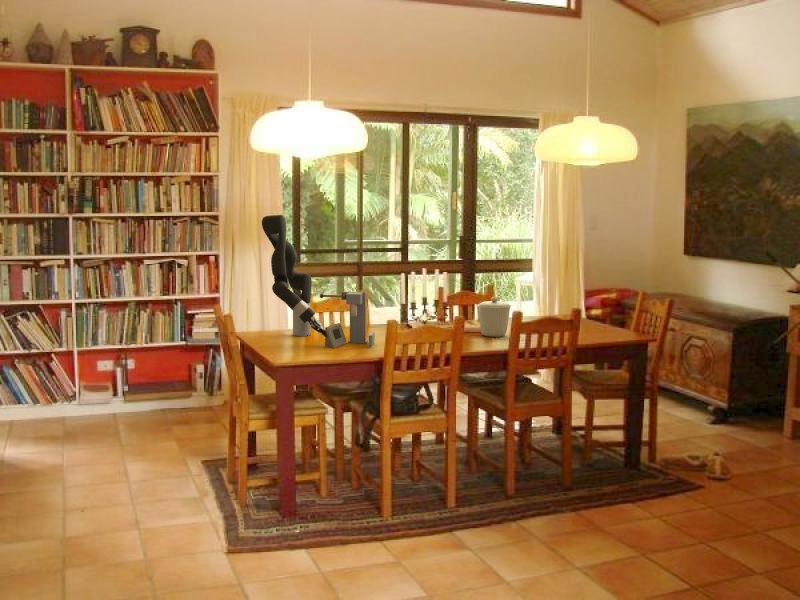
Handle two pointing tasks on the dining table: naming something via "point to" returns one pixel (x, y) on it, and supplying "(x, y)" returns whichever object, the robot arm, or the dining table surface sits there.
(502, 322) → the canister
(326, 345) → the digital clock
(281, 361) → the dining table surface
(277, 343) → the dining table surface
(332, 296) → the lever
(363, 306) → the press
